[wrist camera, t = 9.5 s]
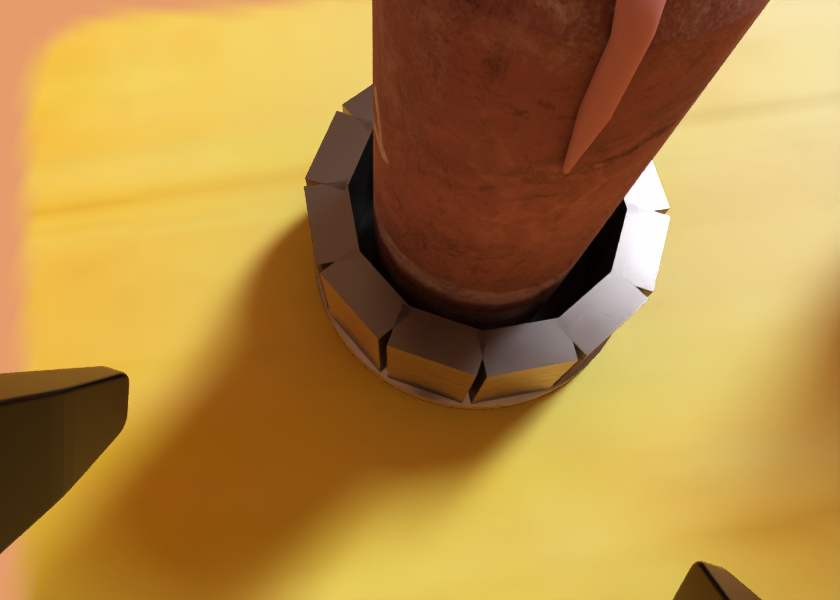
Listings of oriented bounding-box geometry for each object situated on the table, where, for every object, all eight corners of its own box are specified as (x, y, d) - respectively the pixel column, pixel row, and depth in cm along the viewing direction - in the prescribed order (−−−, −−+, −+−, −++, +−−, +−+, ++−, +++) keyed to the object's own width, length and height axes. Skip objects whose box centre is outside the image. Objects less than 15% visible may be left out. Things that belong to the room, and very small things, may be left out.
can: (396, 366, 20) (439, 30, 7) (359, 186, 22) (335, -343, 9) (583, 330, 21) (951, -33, 7) (530, 160, 23) (746, -360, 9)
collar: (461, 480, 19) (478, 466, 15) (253, 238, 22) (224, 175, 18) (686, 273, 22) (747, 218, 18) (479, 79, 24) (495, -5, 21)
